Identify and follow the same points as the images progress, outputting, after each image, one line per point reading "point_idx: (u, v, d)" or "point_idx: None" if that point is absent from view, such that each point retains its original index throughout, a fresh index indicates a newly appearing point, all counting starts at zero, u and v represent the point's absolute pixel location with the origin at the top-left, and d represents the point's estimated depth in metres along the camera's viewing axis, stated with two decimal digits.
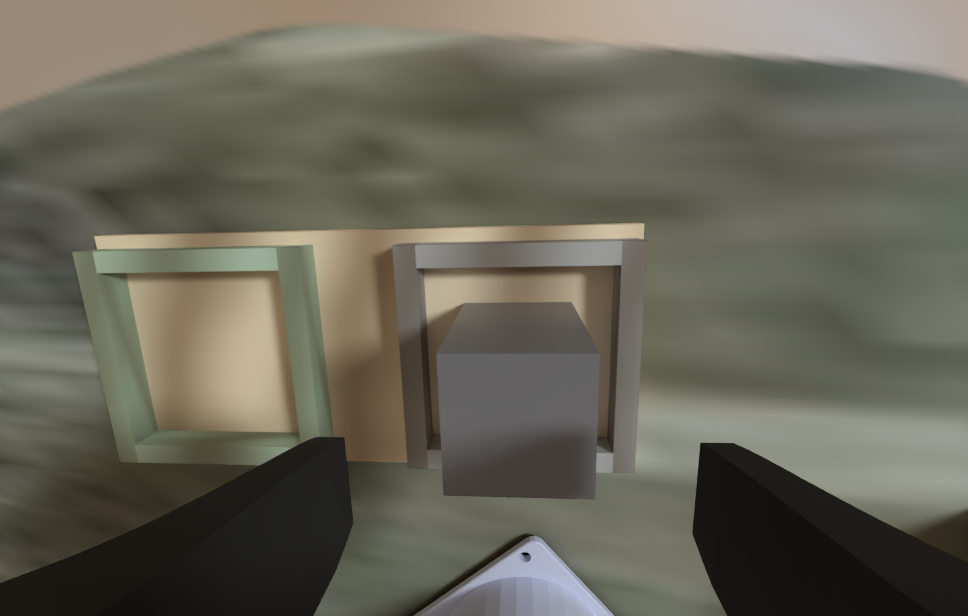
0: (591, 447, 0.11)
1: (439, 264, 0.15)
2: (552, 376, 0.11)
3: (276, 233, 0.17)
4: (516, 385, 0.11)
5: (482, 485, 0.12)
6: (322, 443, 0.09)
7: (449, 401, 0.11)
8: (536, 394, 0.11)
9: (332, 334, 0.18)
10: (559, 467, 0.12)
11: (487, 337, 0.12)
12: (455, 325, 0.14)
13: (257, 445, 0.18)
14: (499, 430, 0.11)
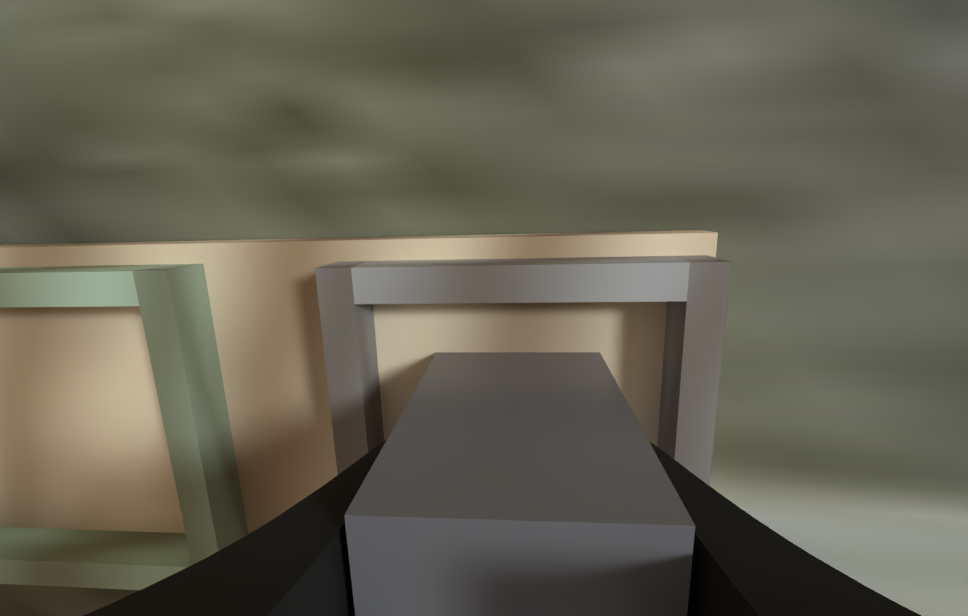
0: None
1: (391, 298, 0.10)
2: (589, 565, 0.05)
3: (147, 246, 0.11)
4: (514, 582, 0.05)
5: None
6: None
7: (376, 605, 0.06)
8: (554, 600, 0.05)
9: (239, 396, 0.12)
10: None
11: (460, 452, 0.07)
12: (408, 412, 0.08)
13: (130, 560, 0.12)
14: None
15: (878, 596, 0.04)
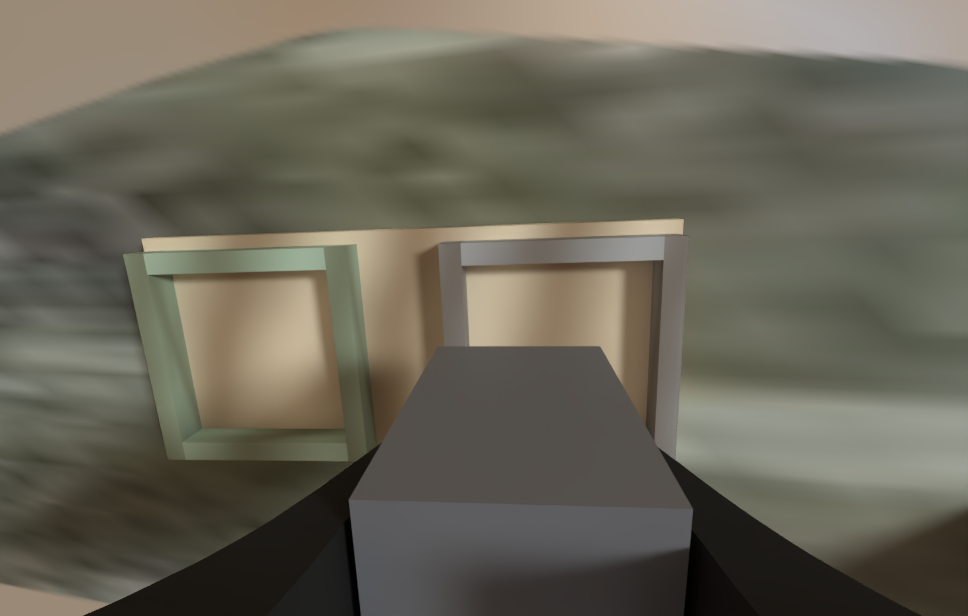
0: None
1: (484, 261, 0.16)
2: (589, 549, 0.05)
3: (320, 233, 0.17)
4: (515, 565, 0.05)
5: None
6: None
7: (379, 589, 0.06)
8: (555, 582, 0.05)
9: (375, 332, 0.18)
10: None
11: (461, 441, 0.07)
12: (410, 403, 0.08)
13: (302, 441, 0.18)
14: None
15: (877, 595, 0.04)
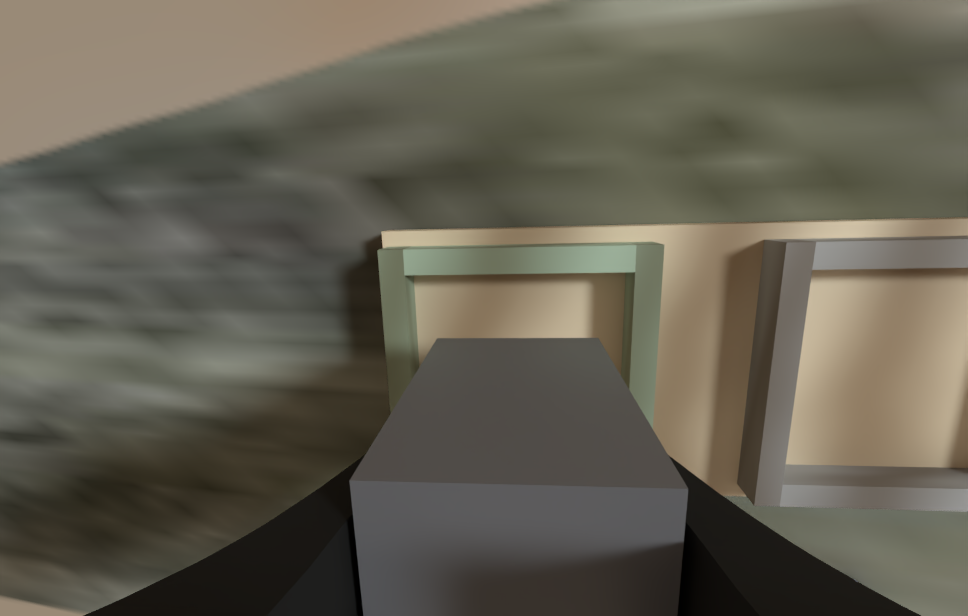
0: None
1: (842, 265, 0.13)
2: (585, 528, 0.05)
3: (609, 228, 0.14)
4: (514, 545, 0.05)
5: None
6: None
7: (380, 570, 0.06)
8: (553, 562, 0.05)
9: (658, 347, 0.15)
10: None
11: (460, 426, 0.07)
12: (410, 391, 0.08)
13: None
14: None
15: (877, 595, 0.04)
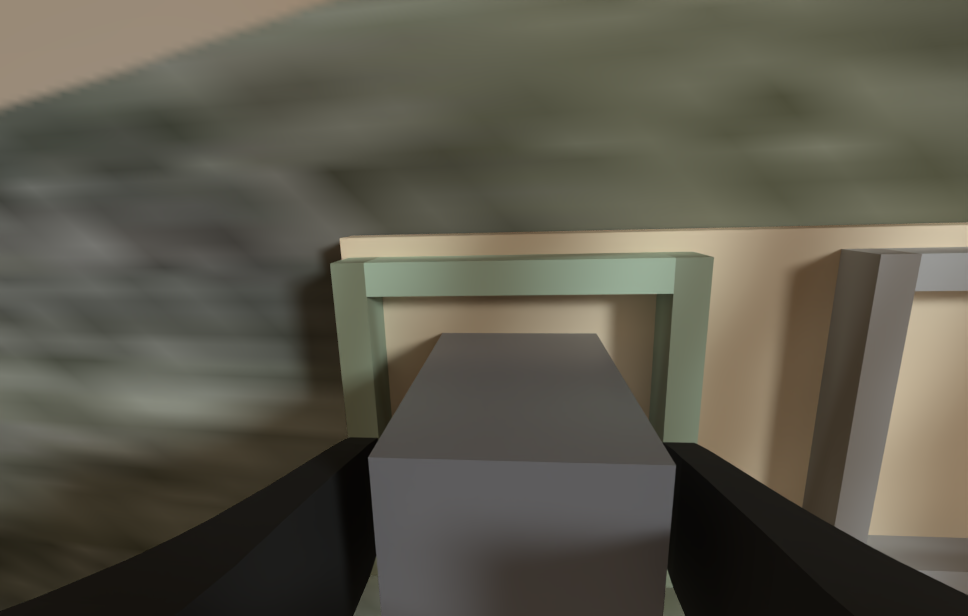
0: None
1: (956, 285, 0.09)
2: (583, 502, 0.06)
3: (636, 234, 0.11)
4: (518, 517, 0.06)
5: None
6: (358, 444, 0.08)
7: (395, 539, 0.06)
8: (552, 534, 0.06)
9: None
10: None
11: (467, 412, 0.07)
12: (419, 380, 0.09)
13: None
14: (485, 592, 0.06)
15: None
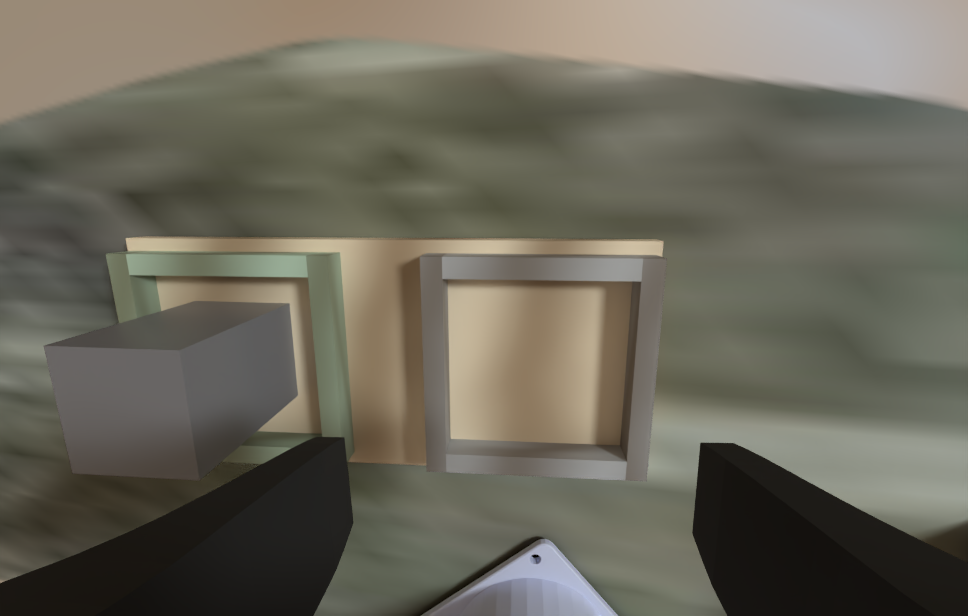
0: (188, 433, 0.13)
1: (464, 275, 0.16)
2: (143, 368, 0.12)
3: (304, 240, 0.17)
4: (116, 376, 0.12)
5: (103, 465, 0.13)
6: (322, 443, 0.09)
7: (62, 389, 0.13)
8: (133, 385, 0.13)
9: (356, 339, 0.18)
10: (164, 451, 0.13)
11: (126, 333, 0.14)
12: (128, 321, 0.15)
13: (280, 445, 0.18)
14: (108, 417, 0.13)
15: None
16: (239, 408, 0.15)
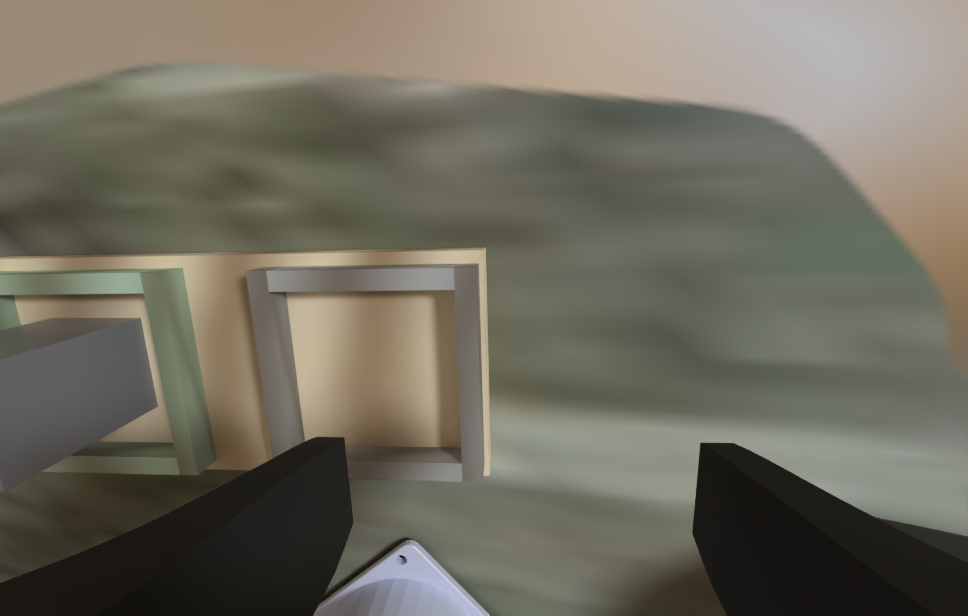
0: None
1: (290, 288, 0.17)
2: None
3: (148, 257, 0.18)
4: None
5: None
6: (322, 443, 0.09)
7: None
8: None
9: (206, 351, 0.19)
10: None
11: None
12: None
13: (137, 455, 0.19)
14: None
15: None
16: (65, 421, 0.16)
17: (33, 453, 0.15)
